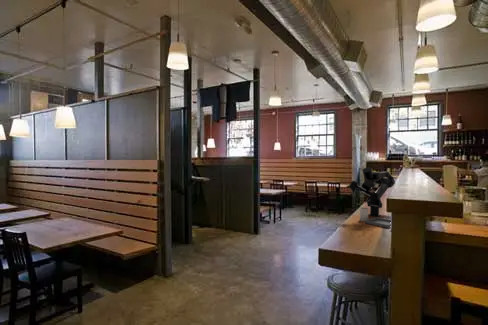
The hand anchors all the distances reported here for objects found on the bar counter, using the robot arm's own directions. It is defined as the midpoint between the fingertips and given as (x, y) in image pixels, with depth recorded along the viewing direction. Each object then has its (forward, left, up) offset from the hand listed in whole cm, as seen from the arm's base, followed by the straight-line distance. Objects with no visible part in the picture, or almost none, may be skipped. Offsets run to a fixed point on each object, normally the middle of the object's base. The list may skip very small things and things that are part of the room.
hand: (358, 198), depth 205 cm
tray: (-4, +14, -15) cm, 21 cm away
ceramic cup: (-4, +2, -15) cm, 15 cm away
